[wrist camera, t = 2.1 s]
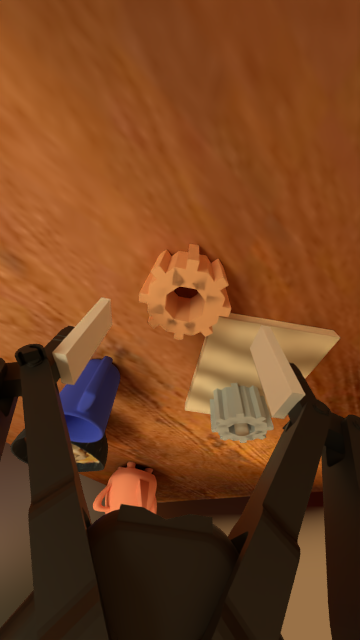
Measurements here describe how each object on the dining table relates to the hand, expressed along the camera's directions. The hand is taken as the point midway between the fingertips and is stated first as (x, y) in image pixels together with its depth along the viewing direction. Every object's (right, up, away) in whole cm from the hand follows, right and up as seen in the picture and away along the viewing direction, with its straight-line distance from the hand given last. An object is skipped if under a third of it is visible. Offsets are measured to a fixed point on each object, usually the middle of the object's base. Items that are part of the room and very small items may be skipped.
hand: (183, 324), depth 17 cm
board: (+10, -8, +14) cm, 20 cm away
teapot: (-13, -48, +45) cm, 67 cm away
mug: (-13, -7, +16) cm, 21 cm away
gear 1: (0, +5, +6) cm, 8 cm away
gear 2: (+9, -13, +16) cm, 23 cm away
